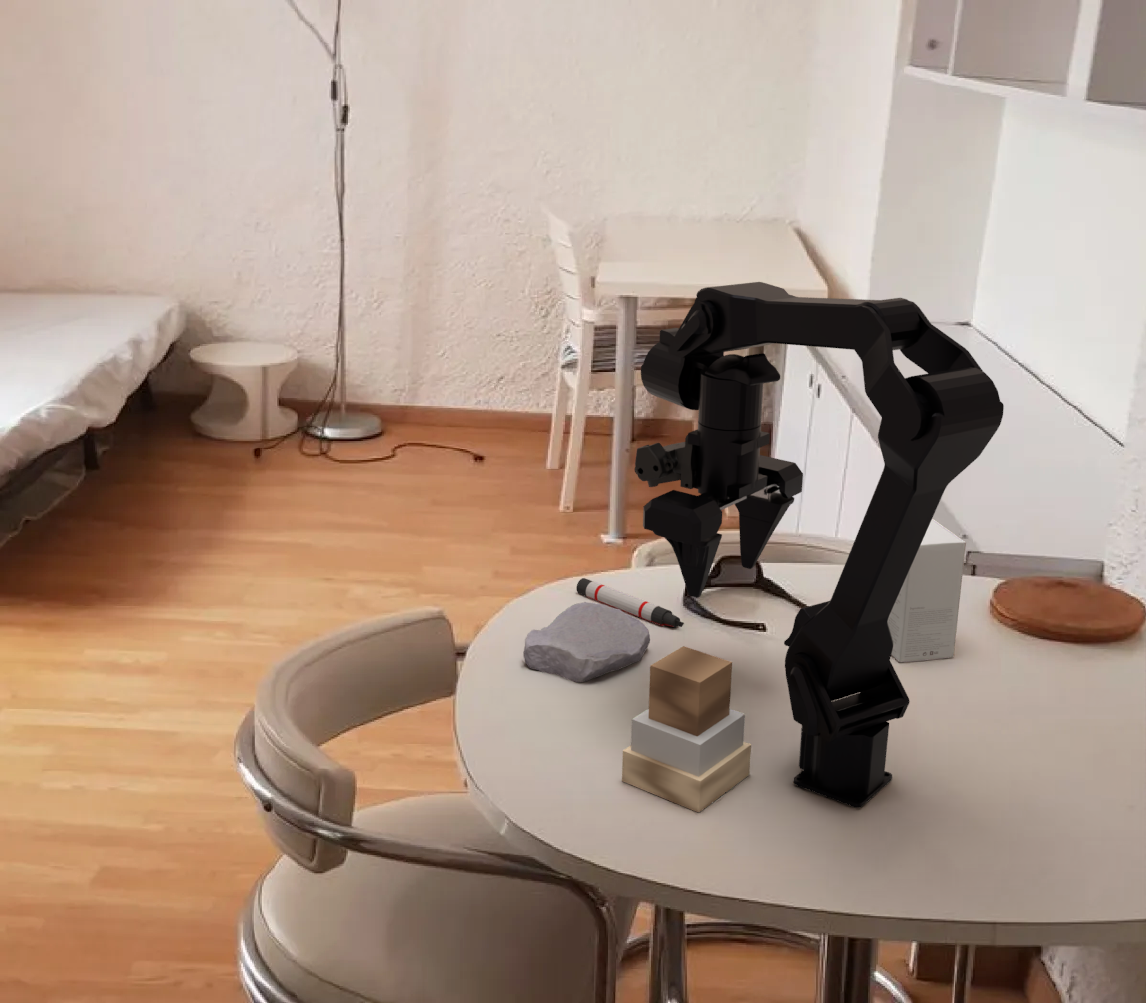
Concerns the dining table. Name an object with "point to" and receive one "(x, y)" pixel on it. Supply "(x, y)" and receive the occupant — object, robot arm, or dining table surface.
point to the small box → (929, 599)
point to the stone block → (586, 642)
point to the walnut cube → (690, 690)
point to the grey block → (687, 742)
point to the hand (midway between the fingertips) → (721, 581)
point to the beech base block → (686, 778)
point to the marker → (627, 603)
